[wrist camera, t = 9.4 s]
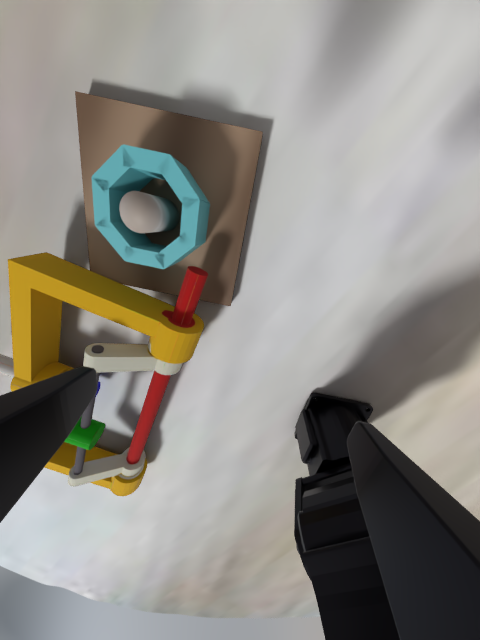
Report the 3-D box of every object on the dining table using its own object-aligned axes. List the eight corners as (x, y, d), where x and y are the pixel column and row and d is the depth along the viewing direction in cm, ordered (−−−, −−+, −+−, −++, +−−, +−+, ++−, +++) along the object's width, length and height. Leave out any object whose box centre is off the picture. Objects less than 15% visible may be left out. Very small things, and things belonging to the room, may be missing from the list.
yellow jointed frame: (209, 304, 12) (119, 531, 25) (226, 275, 18) (145, 472, 31) (-160, 145, 10) (-53, 478, 23) (-11, 169, 16) (9, 426, 29)
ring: (213, 173, 15) (203, 161, 12) (202, 266, 18) (191, 275, 15) (121, 153, 15) (88, 137, 12) (123, 250, 18) (96, 255, 15)
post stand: (262, 137, 15) (264, 100, 11) (231, 302, 20) (223, 326, 15) (86, 99, 15) (11, 44, 10) (98, 275, 20) (50, 290, 15)
